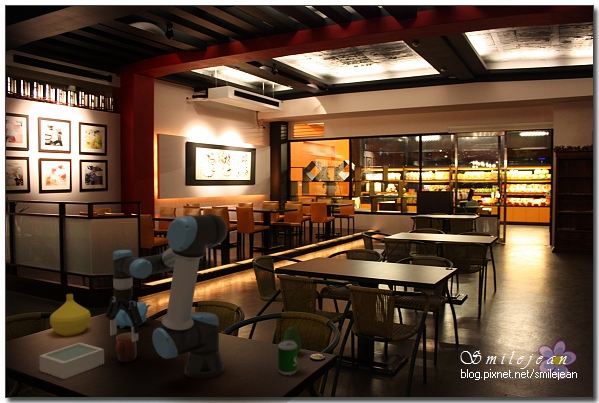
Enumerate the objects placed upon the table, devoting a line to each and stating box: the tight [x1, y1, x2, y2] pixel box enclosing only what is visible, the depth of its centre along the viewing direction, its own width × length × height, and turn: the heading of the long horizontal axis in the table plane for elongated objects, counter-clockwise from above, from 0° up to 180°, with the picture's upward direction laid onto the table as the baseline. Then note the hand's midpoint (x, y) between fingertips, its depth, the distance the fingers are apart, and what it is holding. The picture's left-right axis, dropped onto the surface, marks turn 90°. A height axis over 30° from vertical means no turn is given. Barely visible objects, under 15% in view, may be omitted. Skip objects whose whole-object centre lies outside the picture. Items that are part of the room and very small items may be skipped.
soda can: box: [277, 340, 298, 376], centre depth 196 cm, size 8×8×12 cm
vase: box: [49, 293, 92, 337], centre depth 247 cm, size 18×18×19 cm
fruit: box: [282, 326, 302, 354], centre depth 215 cm, size 8×8×12 cm
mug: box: [115, 332, 138, 363], centre depth 209 cm, size 12×9×10 cm
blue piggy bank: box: [114, 301, 152, 330], centre depth 257 cm, size 18×16×13 cm
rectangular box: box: [38, 342, 105, 380], centre depth 203 cm, size 16×18×6 cm
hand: (124, 337), depth 209 cm, fingers open, 13 cm apart
